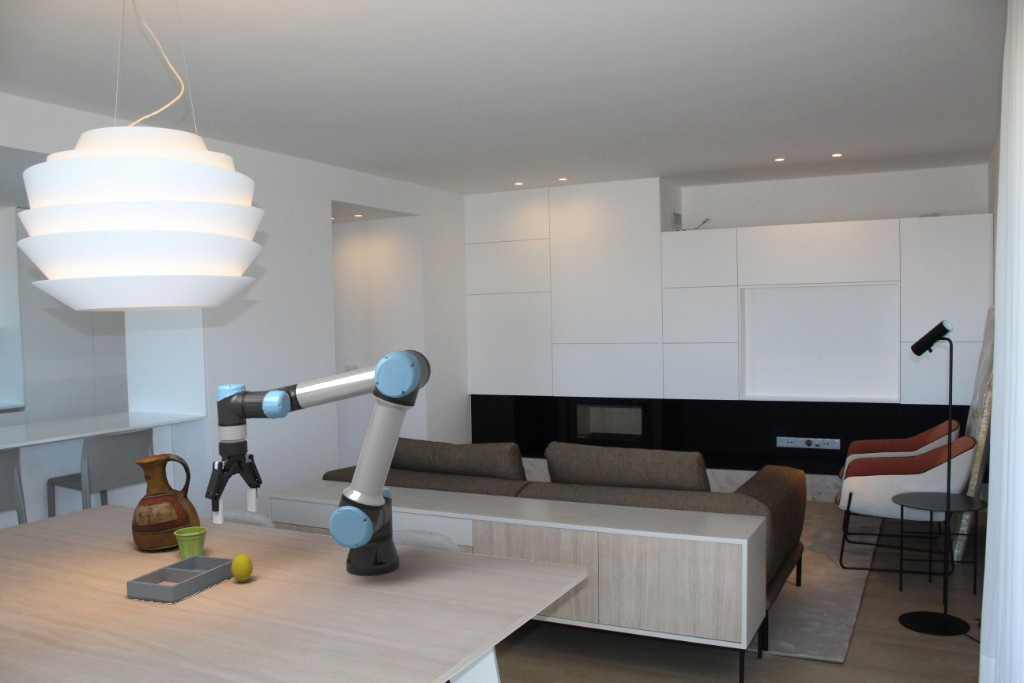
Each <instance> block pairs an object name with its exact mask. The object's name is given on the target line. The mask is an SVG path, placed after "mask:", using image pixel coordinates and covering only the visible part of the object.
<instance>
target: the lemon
mask: <svg viewBox="0 0 1024 683" xmlns="http://www.w3.org/2000/svg"><path fill="white" fill-rule="evenodd" d="M233 559H234V560H233V562H232V566H231V572H232V575H233V578H234V579H235V580H236V581H239V582H240V583H245V581H246V580H247V579H249V578H250V577H251V575H252V573H253V567H254V566H253V562H252V559H251V557H250V556H248V555H247V554H244V553H239V554H238V555H236V556H235V557H234V558H233Z"/></svg>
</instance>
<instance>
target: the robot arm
mask: <svg viewBox="0 0 1024 683" xmlns="http://www.w3.org/2000/svg"><path fill="white" fill-rule="evenodd" d="M431 373H432V367H431V363H430V361H429V359H428V358H427V357H426V355H424V354H423V353H422V352H420V351H418V350H413V349H405V350H396V351H391V352H389V353H388V354H386V355H384V356H383V357H381V358H380V360H379V361H378V362H377V364H375V365H370V366H366V367H362V368H361V367H360V368H357V369H353V370H350V371H345V372H342V373H337V374H332V375H329V376H324V377H320V378H316V379H315V378H314V379H312V380H307V381H303V382H299V383H294V384H291V385H285V386H281V387H278V388H272V389H269V390H256V391H249V390H247V389H246V386H245V384H243V383H229V384H228V383H227V384H221V385H218V386H217V389H216V408H217V409H216V410H217V429H218V432H217V433H218V434H217V436H218V440H219V443H218V455H219V456H220V457H221V459H220V460H221V461H213V462H212V468H211V469H212V470H211V474H210V477H209V481H208V483H207V488H206V490H205V494H204V498H205V499H208V500H211V511H212V513H213V514H212V516H213V517H212V519H213V523H214V524H221V525H222V524H224V522H225V521H224V504H223V503H224V500H223V498H222V495H223V493H224V491H225V489H226V487H227V484H228V482H229V480H230V478H232V477H233V476H235V475H237V474H239V475H240V478H242V479H243V481H244V483H245V484H246V485H247V486H248V487H249V488H246V500H247V501H246V502H247V503H246V506H247V512H249V513H250V512H251V513H257V512H258V500H257V499H258V489H261V485H262V484H263V480H262V477H261V475H260V472H259V470H258V467H257V464H256V462H255V456H254V454H252V453H248V451H249V448H248V441H247V440H246V439H247V438H248V426H247V425H248V424H247V423H248V422H247V420H251V419H272V420H275V419H284V418H286V417H287V416H288V414H289V413H292V412H297V411H301V410H304V409H309V408H313V407H318V406H322V405H326V404H331V403H336V402H339V401H343V400H349V399H352V398H353V399H354V398H357V397H361V396H365V395H370V394H371V395H372V397H373V399H374V401H375V403H374V404H375V405H374V406H373V411H372V413H371V414H372V415H371V418H370V421H369V425H368V427H367V430H366V434H365V437H364V440H363V444H362V446H361V450H360V453H359V457H358V459H357V462H356V466H355V471H354V472H353V477H352V479H351V484H350V485H349V486H348V487H346V488H344V489H343V491H342V494H341V497H340V499H339V504H338V506H337V509H335V510H334V511H333V512H332V514H331V516H330V518H329V523H328V530H329V533H330V535H331V537H332V539H333V540H334V541H335V543H337V544H338V545H339V546H342V547H343V548H347V549H349V551H348V554H347V557H346V560H345V561H346V562H345V569H346V571H347V572H348V573H350V574H352V575H356V576H376V575H377V576H378V575H383V574H387V573H391V572H393V570H394V571H395V569H396V570H397V569H399V568H400V565H401V564H400V563H401V562H400V556H399V554H398V550H397V548H396V544H395V542H394V537H393V534H394V533H393V531H394V530H393V497H392V491H391V489H390V488H388V487H385V484H386V480H387V477H388V474H389V471H390V468H391V464H392V461H393V458H394V454H395V451H396V448H397V445H398V441H399V438H400V435H401V431H402V429H403V425H404V421H405V418H406V414H407V411H409V410H411V409H412V408H414V407H415V405H416V401H417V398H418V395H419V392H420V390H421V389H423V388H424V387H425V386H426V385H427V384H428V382H429V380H430V378H431ZM398 567H399V568H398Z"/></svg>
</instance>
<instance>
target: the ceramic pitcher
mask: <svg viewBox="0 0 1024 683" xmlns="http://www.w3.org/2000/svg"><path fill="white" fill-rule="evenodd" d="M168 462H177V463H179V464H180V465H181V467H182V468H183V469H184V472H185V482H184V485H183V487H182V489H181V490H178V489H175V488H173V487H172V486H171V484H170V483H169V480H168V477H167V471H166V470H167V464H168ZM134 463H135V464H136V465H138V466H140V468H142V470H143V474H144V476H143V477H144V480H145V482H146V492H145V495H143V497H142V498H141V499H140V500H138V501H139V502H138V503H137V505H136V507H135V509H134V512H133V516H132V521H131V531H132V539H133V542H134V544H135V546H136V548H138V549H141V550H144V551H146V550H148V551H155V550H163V549H167V548H173V547H176V546H179V545H178V540H177V539H176V535H174V532H175V531H177V530H180V529H183V528H189V527H201V520H200V517H199V514H198V511H197V509H196V508H195V505H194V504H193V502H191V500H190V499H189V497H188V494H189V488H190V483H191V470H190V467H189V465H188V463H187V461H186V460H185V459H184V458H183V457H181V456H179V455H177V454H172V453H160V454H153V455H149V456H144V457H141V458H138V459H136V460H135V461H134Z"/></svg>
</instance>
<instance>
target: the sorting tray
mask: <svg viewBox="0 0 1024 683" xmlns="http://www.w3.org/2000/svg"><path fill="white" fill-rule="evenodd" d="M233 560H234V558H228V557H227V558H226V557H218V556H217V557H216V556H207V555H203V556H200V555H194V556H191V557H189V558H186V559H183V560H181V559H180V560H179V561H175V562H174V563H171V564H168V565H166V566H163V567H160V568H157V569H155V570H152V571H150V572H148V573H145V574H142V575H140V576H137V577H134V578H132V579H131V580H129V579H128V580H127V581H126V599H127V598H128V599H127V600H133V599H138V600H137V601H140V600H144V601H143V602H148V601H153V602H152V603H156V602H162V603H161V604H164V603H172V604H173V603H175V602H177V601H180V600H182V599H184V598H186V597H188V596H191V595H193V594H195V593H197V592H199V591H202V590H204V589H206V588H208V587H210V586H213V585H215V584H217V585H219V584H218V583H220V582H222V581H224V580H226V579H228V580H230V579H229V578H231V577H233V575H232V572H231V566H232V562H233ZM233 578H234V577H233ZM231 579H232V578H231ZM226 581H227V580H226ZM224 582H225V581H224ZM222 583H223V582H222ZM220 584H221V583H220ZM215 586H216V585H215ZM213 587H214V586H213ZM206 590H207V589H206ZM204 591H205V590H204ZM202 592H203V591H202ZM197 594H198V593H197ZM195 595H196V594H195ZM193 596H194V595H193ZM191 597H192V596H191ZM186 599H187V598H186ZM184 600H185V599H184ZM182 601H183V600H182ZM180 602H181V601H180ZM175 604H176V603H175ZM173 605H174V604H173Z"/></svg>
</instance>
